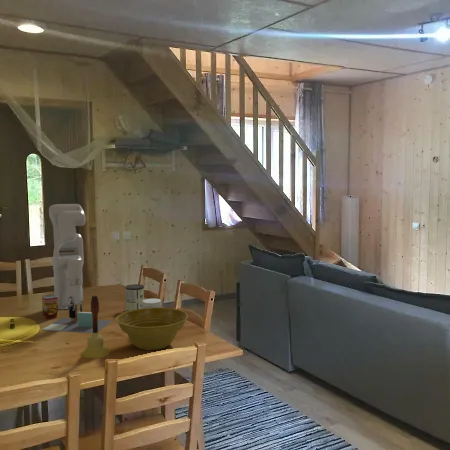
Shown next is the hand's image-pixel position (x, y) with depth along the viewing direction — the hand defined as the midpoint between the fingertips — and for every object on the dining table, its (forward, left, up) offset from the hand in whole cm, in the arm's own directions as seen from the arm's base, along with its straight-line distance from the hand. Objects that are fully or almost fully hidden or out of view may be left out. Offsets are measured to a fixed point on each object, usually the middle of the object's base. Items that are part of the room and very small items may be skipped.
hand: (75, 315), depth 264 cm
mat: (+4, -6, -4) cm, 8 cm away
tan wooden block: (0, 0, -3) cm, 3 cm away
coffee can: (+22, +29, -4) cm, 37 cm away
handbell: (+28, -41, -4) cm, 50 cm away
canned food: (-17, +6, -4) cm, 19 cm away
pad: (-5, -12, -3) cm, 13 cm away
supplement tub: (+42, -4, -4) cm, 42 cm away
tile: (+9, -7, -3) cm, 12 cm away
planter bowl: (+49, -27, -4) cm, 56 cm away
